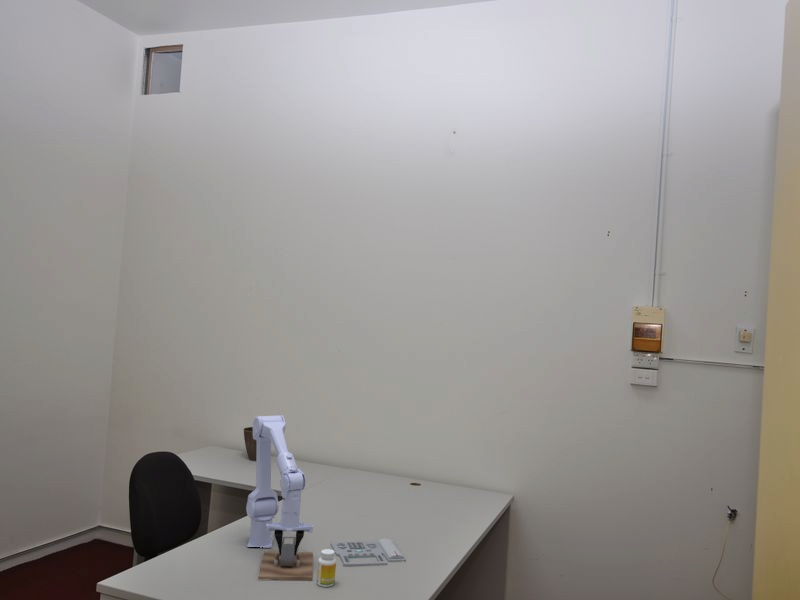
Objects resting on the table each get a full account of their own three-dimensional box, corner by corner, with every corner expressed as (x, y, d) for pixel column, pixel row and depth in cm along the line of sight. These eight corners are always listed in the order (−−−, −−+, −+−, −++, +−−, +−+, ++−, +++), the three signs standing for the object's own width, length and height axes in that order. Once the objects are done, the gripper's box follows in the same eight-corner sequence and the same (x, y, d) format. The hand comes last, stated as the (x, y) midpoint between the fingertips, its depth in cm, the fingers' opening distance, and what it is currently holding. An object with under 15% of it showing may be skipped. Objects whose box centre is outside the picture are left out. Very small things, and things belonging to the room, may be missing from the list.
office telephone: (394, 536, 227) (410, 558, 208) (394, 544, 227) (410, 566, 208) (330, 537, 220) (341, 560, 201) (330, 545, 220) (340, 568, 201)
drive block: (281, 555, 202) (283, 536, 202) (294, 555, 203) (295, 536, 203) (280, 565, 194) (281, 545, 195) (293, 565, 195) (294, 545, 195)
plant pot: (235, 460, 331) (238, 429, 331) (251, 454, 345) (253, 425, 345) (260, 464, 326) (263, 433, 326) (275, 458, 340) (277, 428, 341)
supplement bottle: (312, 582, 188) (315, 550, 188) (326, 578, 192) (328, 546, 192) (324, 589, 184) (326, 556, 185) (338, 584, 188) (340, 552, 189)
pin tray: (263, 554, 208) (264, 545, 208) (312, 554, 210) (313, 545, 210) (258, 579, 188) (258, 569, 188) (312, 580, 190) (312, 570, 190)
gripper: (266, 514, 194) (263, 558, 194) (313, 515, 196) (310, 559, 196) (268, 507, 201) (265, 550, 201) (313, 508, 203) (311, 551, 203)
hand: (287, 554), depth 199 cm, fingers closed on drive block, 4 cm apart
